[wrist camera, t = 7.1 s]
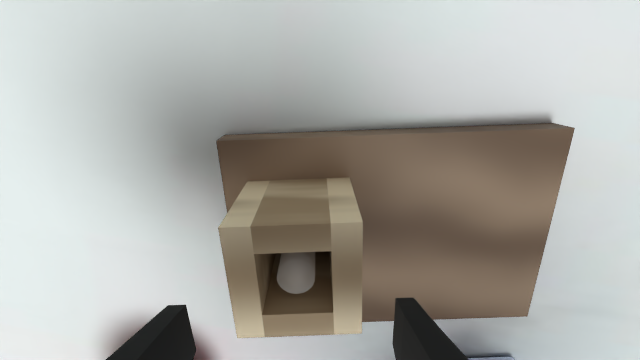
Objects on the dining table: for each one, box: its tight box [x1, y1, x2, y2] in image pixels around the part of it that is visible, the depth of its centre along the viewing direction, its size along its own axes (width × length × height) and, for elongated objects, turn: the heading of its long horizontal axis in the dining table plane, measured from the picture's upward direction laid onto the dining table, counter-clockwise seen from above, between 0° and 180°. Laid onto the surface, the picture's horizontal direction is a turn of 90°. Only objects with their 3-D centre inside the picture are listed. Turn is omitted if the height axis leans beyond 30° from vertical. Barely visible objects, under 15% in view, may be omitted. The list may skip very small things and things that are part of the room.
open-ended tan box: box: [218, 178, 363, 338], centre depth 15 cm, size 5×5×5 cm
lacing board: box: [216, 123, 575, 322], centre depth 16 cm, size 12×18×6 cm, turn 92°
